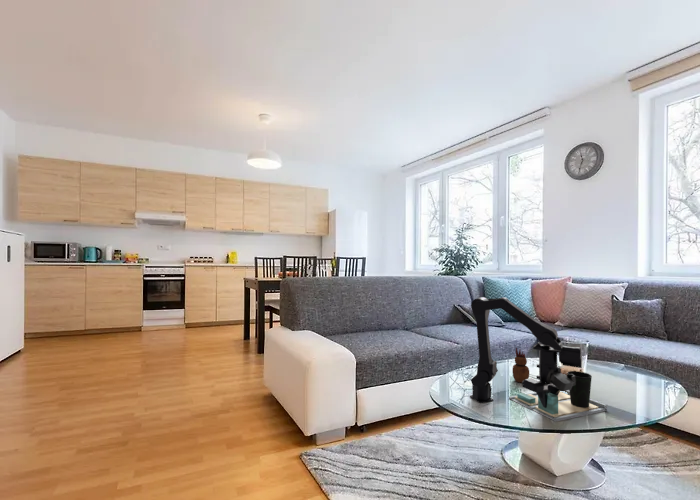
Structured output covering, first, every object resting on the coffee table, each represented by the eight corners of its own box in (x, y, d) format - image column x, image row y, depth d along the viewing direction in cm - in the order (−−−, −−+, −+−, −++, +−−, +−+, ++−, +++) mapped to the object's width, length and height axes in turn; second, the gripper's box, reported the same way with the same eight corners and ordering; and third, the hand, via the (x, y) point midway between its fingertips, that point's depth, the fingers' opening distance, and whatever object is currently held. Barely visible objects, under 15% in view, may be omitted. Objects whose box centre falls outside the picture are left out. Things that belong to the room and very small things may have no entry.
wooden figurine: (510, 381, 165) (510, 347, 165) (515, 378, 169) (515, 345, 169) (526, 385, 160) (526, 350, 160) (531, 382, 164) (531, 348, 164)
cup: (595, 411, 132) (595, 378, 132) (572, 410, 134) (571, 376, 134) (586, 403, 140) (586, 371, 140) (564, 402, 141) (564, 370, 142)
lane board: (555, 421, 125) (555, 415, 125) (509, 398, 145) (509, 393, 145) (606, 410, 134) (606, 405, 134) (556, 390, 154) (556, 385, 154)
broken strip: (531, 406, 137) (531, 400, 137) (514, 398, 144) (514, 392, 144) (574, 398, 144) (574, 392, 144) (555, 391, 152) (555, 385, 152)
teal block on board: (554, 417, 127) (554, 398, 127) (535, 408, 135) (535, 390, 135) (598, 408, 135) (598, 390, 135) (577, 400, 142) (577, 383, 142)
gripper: (547, 372, 121) (547, 420, 121) (588, 366, 127) (588, 412, 127) (521, 363, 131) (521, 407, 131) (559, 358, 138) (560, 400, 138)
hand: (548, 406), depth 132 cm, fingers open, 3 cm apart
